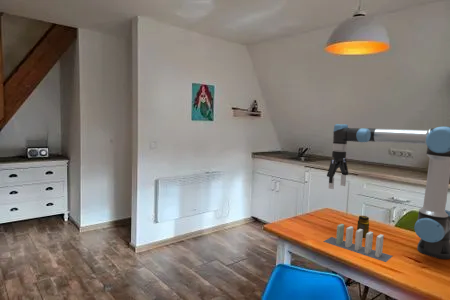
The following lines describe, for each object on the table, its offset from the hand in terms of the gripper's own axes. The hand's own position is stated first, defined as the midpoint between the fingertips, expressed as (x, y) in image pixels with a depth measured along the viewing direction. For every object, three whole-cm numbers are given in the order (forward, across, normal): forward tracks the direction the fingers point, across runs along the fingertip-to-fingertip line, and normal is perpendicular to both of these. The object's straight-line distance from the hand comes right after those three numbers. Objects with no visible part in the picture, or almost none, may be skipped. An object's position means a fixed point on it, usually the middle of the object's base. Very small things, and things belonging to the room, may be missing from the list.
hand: (337, 187), depth 179 cm
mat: (+28, +12, +19) cm, 36 cm away
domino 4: (+27, +12, +25) cm, 39 cm away
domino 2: (+27, +13, +15) cm, 34 cm away
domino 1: (+27, +13, +10) cm, 32 cm away
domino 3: (+27, +12, +20) cm, 36 cm away
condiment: (+28, -6, +13) cm, 31 cm away
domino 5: (+27, +12, +30) cm, 42 cm away
